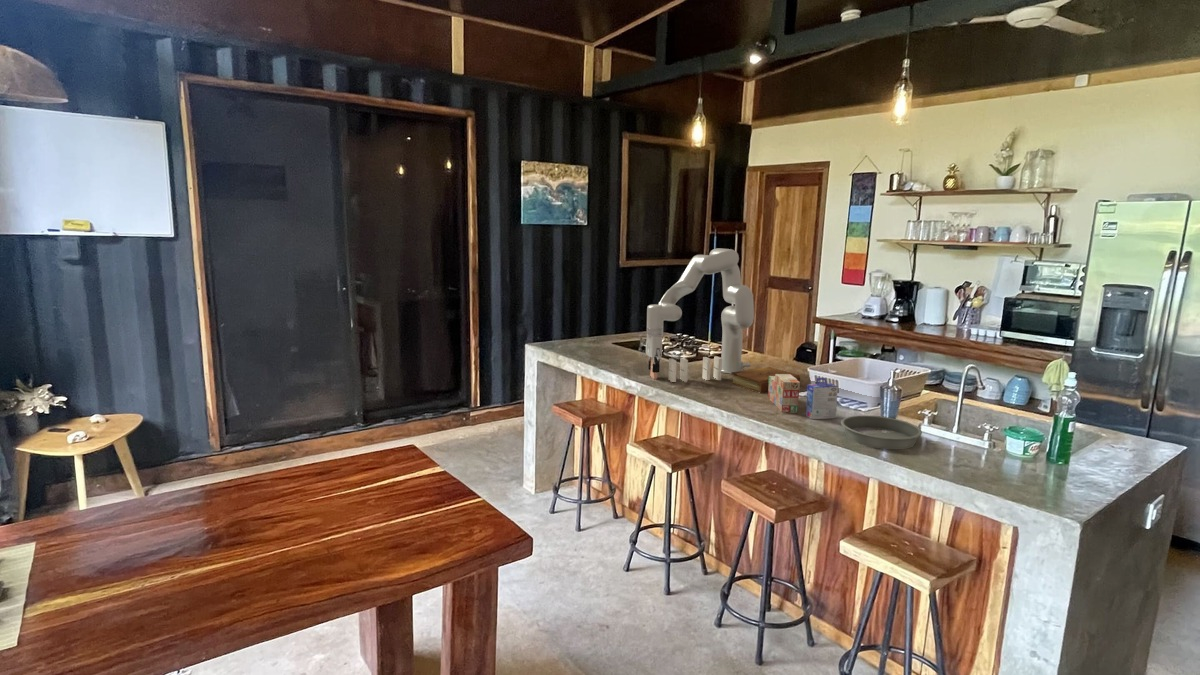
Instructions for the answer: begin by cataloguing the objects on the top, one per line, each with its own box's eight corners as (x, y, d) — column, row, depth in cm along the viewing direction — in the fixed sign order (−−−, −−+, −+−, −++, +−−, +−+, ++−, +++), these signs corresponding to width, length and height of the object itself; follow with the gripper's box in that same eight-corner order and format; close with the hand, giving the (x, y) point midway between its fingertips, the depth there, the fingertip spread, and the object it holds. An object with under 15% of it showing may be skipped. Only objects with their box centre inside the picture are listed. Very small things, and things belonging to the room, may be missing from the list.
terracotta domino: (653, 376, 292) (654, 355, 290) (657, 378, 287) (657, 357, 285) (650, 376, 291) (650, 355, 290) (653, 379, 287) (654, 357, 285)
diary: (760, 394, 264) (761, 381, 263) (730, 384, 280) (731, 372, 279) (799, 387, 276) (800, 374, 275) (768, 378, 292) (769, 366, 291)
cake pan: (934, 441, 208) (935, 427, 207) (898, 457, 193) (899, 443, 192) (863, 422, 227) (864, 410, 226) (825, 436, 212) (826, 423, 211)
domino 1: (683, 379, 287) (683, 357, 285) (687, 381, 282) (688, 360, 280) (679, 379, 287) (680, 358, 285) (683, 382, 282) (684, 360, 280)
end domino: (716, 377, 291) (717, 356, 289) (721, 380, 286) (722, 358, 284) (713, 377, 291) (714, 356, 289) (717, 380, 286) (718, 358, 284)
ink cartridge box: (828, 414, 236) (831, 376, 233) (836, 418, 231) (839, 380, 228) (804, 415, 234) (807, 377, 232) (811, 419, 229) (814, 381, 226)
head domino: (671, 379, 286) (672, 358, 284) (675, 382, 281) (676, 360, 279) (668, 380, 285) (669, 358, 283) (672, 382, 280) (673, 360, 279)
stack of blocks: (767, 397, 258) (769, 368, 256) (782, 397, 258) (784, 368, 256) (781, 413, 237) (783, 381, 235) (798, 413, 237) (800, 381, 235)
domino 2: (705, 378, 290) (706, 356, 288) (710, 380, 285) (710, 359, 283) (702, 378, 289) (703, 357, 287) (706, 380, 284) (707, 359, 283)
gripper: (641, 329, 293) (640, 367, 296) (653, 335, 276) (652, 375, 280) (656, 328, 294) (655, 366, 298) (669, 334, 278) (667, 374, 281)
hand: (653, 370), depth 289 cm, fingers closed on terracotta domino, 4 cm apart
